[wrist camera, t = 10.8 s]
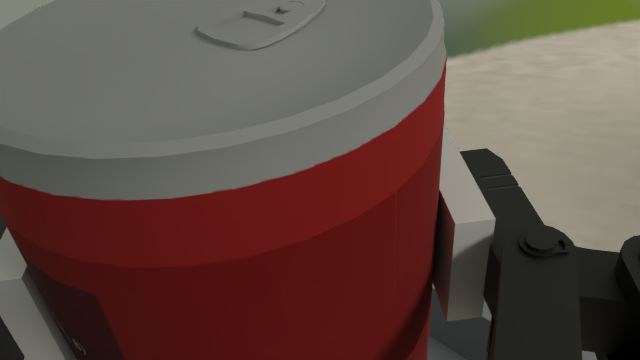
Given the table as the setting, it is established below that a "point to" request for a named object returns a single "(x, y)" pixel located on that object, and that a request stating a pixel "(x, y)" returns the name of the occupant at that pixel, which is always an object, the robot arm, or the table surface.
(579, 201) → the table surface
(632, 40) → the table surface
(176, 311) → the canned food
